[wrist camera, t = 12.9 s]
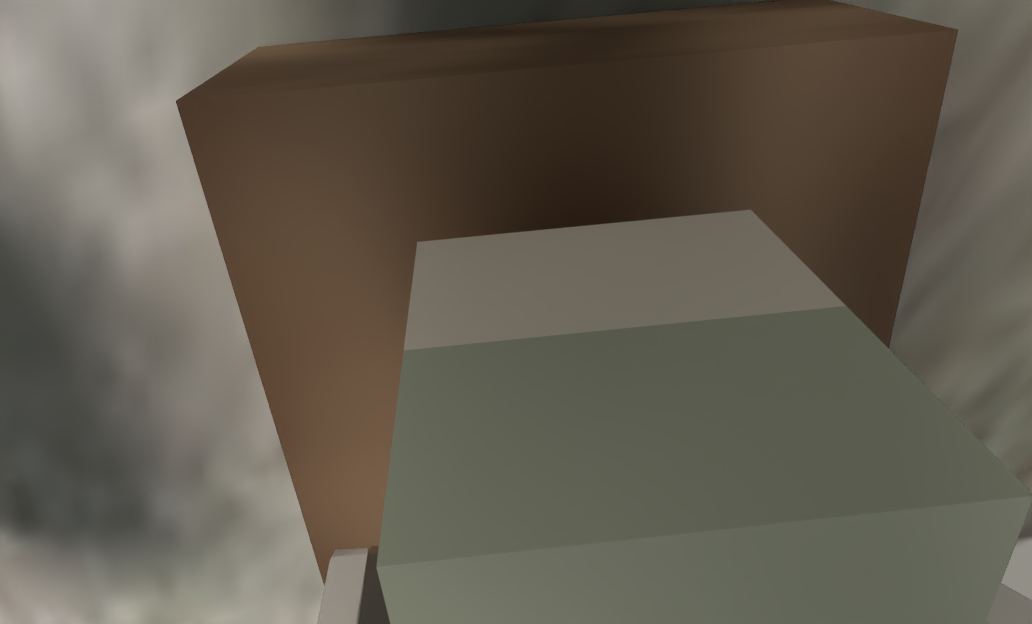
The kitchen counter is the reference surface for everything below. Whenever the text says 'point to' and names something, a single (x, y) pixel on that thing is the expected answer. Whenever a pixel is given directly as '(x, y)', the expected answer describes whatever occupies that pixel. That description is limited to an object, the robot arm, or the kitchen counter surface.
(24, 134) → the kitchen counter surface
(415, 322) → the block
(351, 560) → the robot arm
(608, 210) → the walnut stand
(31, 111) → the kitchen counter surface
